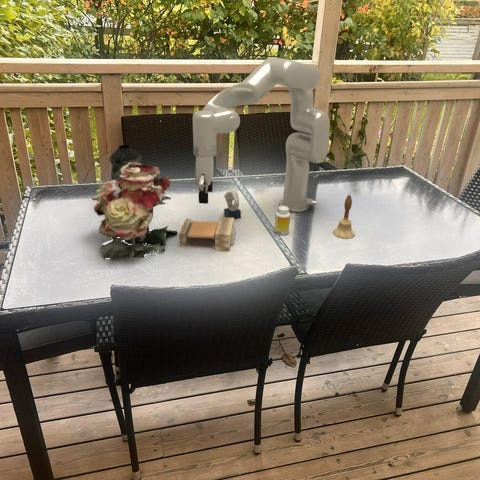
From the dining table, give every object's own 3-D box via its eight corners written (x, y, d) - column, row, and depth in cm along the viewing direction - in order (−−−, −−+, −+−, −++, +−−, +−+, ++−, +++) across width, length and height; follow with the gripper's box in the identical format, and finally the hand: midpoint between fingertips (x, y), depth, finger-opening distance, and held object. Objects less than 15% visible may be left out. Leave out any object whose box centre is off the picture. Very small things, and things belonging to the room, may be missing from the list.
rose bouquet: (102, 226, 171) (94, 149, 157) (180, 229, 172) (178, 153, 157) (81, 262, 149) (69, 175, 134) (170, 265, 149) (167, 180, 135)
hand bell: (341, 240, 170) (348, 201, 162) (328, 231, 176) (334, 193, 169) (358, 236, 173) (366, 198, 166) (345, 227, 180) (351, 190, 172)
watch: (234, 211, 188) (235, 187, 183) (242, 220, 181) (243, 194, 176) (221, 213, 186) (222, 188, 180) (229, 222, 179) (230, 196, 174)
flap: (218, 224, 168) (218, 221, 168) (213, 238, 159) (213, 235, 158) (192, 223, 169) (191, 220, 169) (186, 237, 159) (185, 234, 159)
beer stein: (146, 194, 199) (143, 138, 187) (153, 213, 183) (150, 153, 171) (107, 198, 194) (102, 140, 182) (111, 217, 178) (105, 156, 166)
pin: (235, 239, 167) (235, 227, 165) (233, 244, 163) (234, 233, 161) (213, 237, 167) (213, 225, 165) (211, 243, 164) (211, 231, 161)
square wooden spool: (233, 233, 171) (233, 217, 168) (229, 251, 159) (229, 234, 156) (186, 229, 172) (186, 214, 169) (179, 247, 160) (178, 230, 157)
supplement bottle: (291, 234, 173) (293, 209, 168) (278, 236, 170) (280, 212, 165) (283, 227, 177) (286, 203, 172) (271, 230, 175) (273, 206, 170)
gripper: (198, 141, 157) (199, 186, 166) (188, 158, 142) (190, 207, 151) (219, 142, 157) (219, 188, 165) (212, 159, 142) (212, 208, 150)
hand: (205, 197), depth 158 cm, fingers open, 9 cm apart
